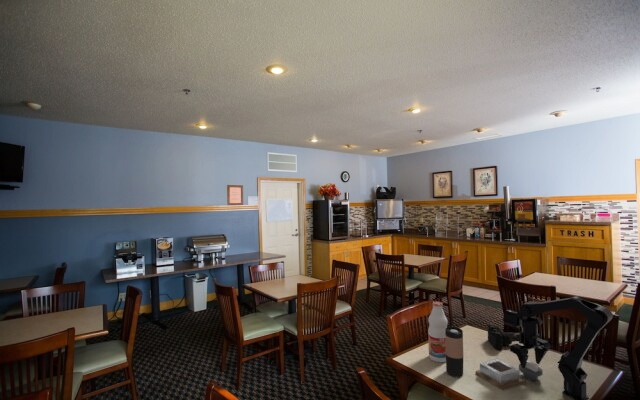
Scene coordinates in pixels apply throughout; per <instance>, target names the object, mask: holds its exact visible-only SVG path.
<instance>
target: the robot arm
mask: <svg viewBox="0 0 640 400" xmlns="http://www.w3.org/2000/svg"><path fill="white" fill-rule="evenodd" d="M569 309H574V310H576V311H578V312H579V313H580V314H581V315H583V316H584V317H586V318H587V319H586V326H585V328H584V330H583V331H582V333H581V334H580V335H579V338H578V340H577V341H576V343H575V344H574V346H573V348H572V350H571V351H570V352H569V351H568V350H567V351H566V352H564V353H562V355H561V356H560V359H559V360H558V361H557V363H556V364H557V368H558V370H559V372H560V374H561V376H562V377H563V390H562V393H563V394H564V395H566V396H567V397H570V398H572V399H573V400H587V399H589V398H590V395H588V394H587V382H585V380H586V379H587V377H588V376H589V375H588V374H587V372H586V371H585V370H584V369H583V368H582V365H583V359H584V356H585V355H586V353H587V351H588V350H589V348H590V347H591V345H592V344H593V342H594V340H595V339H596V336H597V335H598V334H599V332H600V331H601V330H602V329H603V328H604V327H605V326H606V325H607V324H608V323H610V321H611V320H612V319H613V318H614V315H613V312H612V311H611V309H610V308H608V307H606V306H601V305H599V304H597V303H594V302H591V301H589V300H586V299H584V298H582V297H579V296H576V295H575V296H571V297H568V298H567V297H566V298H561V299H555V300H549V301H531V300H530V301H528V302H524V303H523V304H521V305H520V307H519V311H514V310H511V309H506V310H505V311H504V312H505V313H504V315H503V318H502V322H503V324H504V325H508V326H510V327H514V328H517V329H519V328H520V327H522V328H521V331H519V332H508V333H509V334H508V338H509V340H512V344H511V345H509V352H511V353H513V354H515V355H516V356H517V359H518V361H519V364H521V366H522V368H525V366H526V363H527V360H528V361H529V351H530V350H534V356H535V357H534V358H535V364H537V365H540V363H541V361H542V360H543V358H544V357H545V356H546V354H547V353H548V352H549V350H550V349H551V348H552V347H551V343H550V342H549V341H547V340H545V339H542V338H541V334H539V333H538V325H542V324H543V323H544V320H542V319H541V318H540V317H539V316H538V315H541V314H543V313H548V312H553V311H562V310H569ZM535 316H537V317H535ZM514 342H518V343H514ZM513 343H514V344H513ZM588 397H589V398H588ZM586 398H587V399H586Z"/></svg>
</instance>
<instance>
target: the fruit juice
mask: <svg viewBox="0 0 640 400" xmlns="http://www.w3.org/2000/svg"><path fill="white" fill-rule="evenodd" d="M443 306H444V305H443V302H441V301H433V302H432V310H431V312H430V314H429V316H428V319H427V320H428V321H427V322H428V324H429V326H428V331H427V334H428V336H427V337H428V338H427V339H428V341H427V342H428V357H429V359H430V360H431V361H433V362H436V363H446V348H445V329H446V328H447V327H448V324H449V323H448V322H449V321H448V318H447V316H446V315H445V311H444V309H443Z"/></svg>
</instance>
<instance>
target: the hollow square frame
mask: <svg viewBox="0 0 640 400" xmlns="http://www.w3.org/2000/svg"><path fill="white" fill-rule="evenodd" d="M479 370H480V372H481V373H482V374H484V375H486V376H487V377H489V378H491V379H492V380H494V381H496V382H497V383H499V384H501V385H502V384H506V383H509V382H512V381H515V380H518V379H520V378H521V377H520V372H521V371H520V370H519V368H516V367H514V366H513V365H511V364H509V363H507V362H506V361H505V362H504V360H502V359H499V358H496V359H491V360H488V361H483V362H480V363H479ZM497 370H499V371H501V372H499V371H497Z"/></svg>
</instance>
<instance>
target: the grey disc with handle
mask: <svg viewBox="0 0 640 400" xmlns="http://www.w3.org/2000/svg"><path fill="white" fill-rule="evenodd" d="M518 369H519V370H520V372H521V373H522V376H523V378H524V379H525V380H527V381H531V382H538V380H539V377H542V376H543V371H544V370H543V369H542V368H541V367H540V366H539V364H537V363H536V362H533V361H530V360H529V359H528V360H527V363H526V366H525V368H522V366H521V364H520V363H519V364H518Z"/></svg>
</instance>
